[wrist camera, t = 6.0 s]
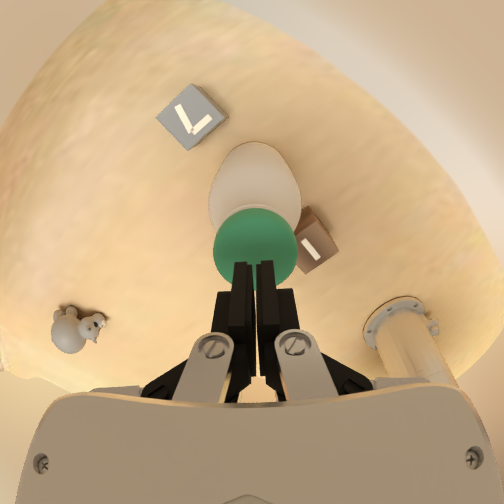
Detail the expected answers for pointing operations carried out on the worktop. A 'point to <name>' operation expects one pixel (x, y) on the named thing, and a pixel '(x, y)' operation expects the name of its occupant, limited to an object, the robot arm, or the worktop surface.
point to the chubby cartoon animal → (74, 329)
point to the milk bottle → (255, 211)
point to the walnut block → (312, 241)
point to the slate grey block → (191, 116)
